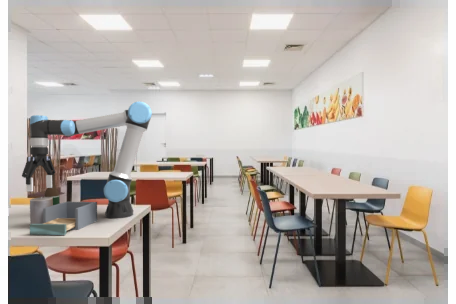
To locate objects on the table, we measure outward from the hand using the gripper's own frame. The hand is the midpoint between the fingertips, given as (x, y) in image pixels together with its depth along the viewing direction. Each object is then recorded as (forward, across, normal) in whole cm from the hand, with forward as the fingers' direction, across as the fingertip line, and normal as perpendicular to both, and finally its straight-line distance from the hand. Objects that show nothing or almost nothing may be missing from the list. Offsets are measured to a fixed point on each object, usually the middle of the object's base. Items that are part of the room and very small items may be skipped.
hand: (39, 189), depth 148 cm
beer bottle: (+18, -24, -11) cm, 32 cm away
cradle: (+18, -2, +15) cm, 24 cm away
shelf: (+18, +7, +15) cm, 24 cm away
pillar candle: (+18, +1, +1) cm, 18 cm away
